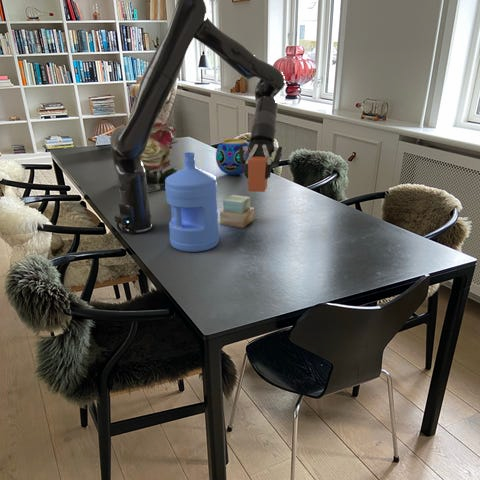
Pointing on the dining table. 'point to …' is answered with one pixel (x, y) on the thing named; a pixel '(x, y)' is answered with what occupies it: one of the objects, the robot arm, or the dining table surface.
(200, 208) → the water jug
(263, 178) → the tall block
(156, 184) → the rose bouquet
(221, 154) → the ceramic pot
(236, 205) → the stack
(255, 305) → the dining table surface
